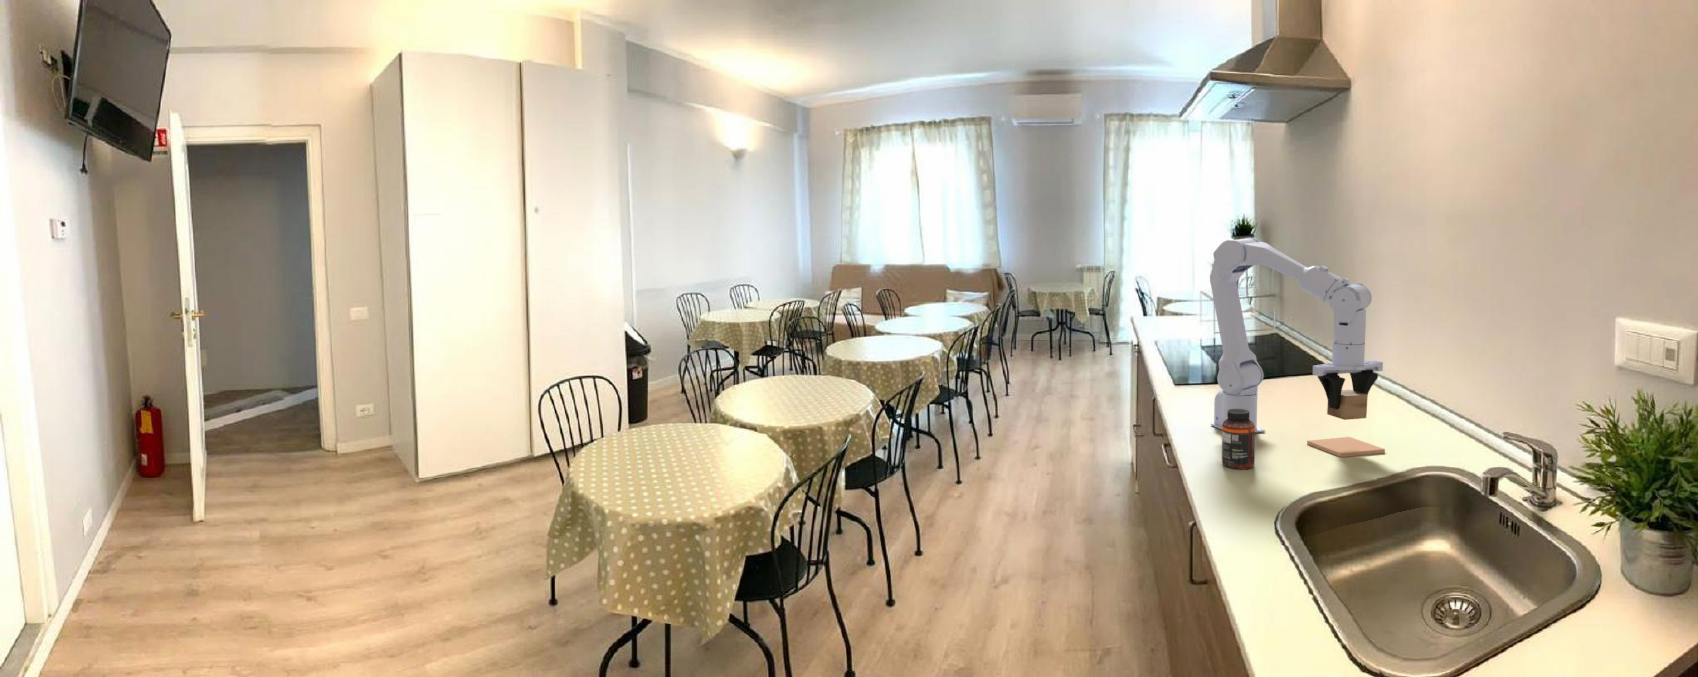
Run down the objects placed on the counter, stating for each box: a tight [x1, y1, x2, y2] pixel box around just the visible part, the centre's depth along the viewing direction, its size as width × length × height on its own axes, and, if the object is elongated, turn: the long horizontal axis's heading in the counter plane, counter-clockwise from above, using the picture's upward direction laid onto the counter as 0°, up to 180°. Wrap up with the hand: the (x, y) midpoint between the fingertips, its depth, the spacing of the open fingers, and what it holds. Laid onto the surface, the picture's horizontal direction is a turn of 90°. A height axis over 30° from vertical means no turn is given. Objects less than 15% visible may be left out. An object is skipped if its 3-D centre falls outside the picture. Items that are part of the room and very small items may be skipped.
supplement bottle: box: [1221, 409, 1256, 470], centre depth 167 cm, size 6×6×11 cm
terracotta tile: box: [1306, 436, 1386, 458], centre depth 175 cm, size 10×10×1 cm
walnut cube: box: [1326, 389, 1369, 421], centre depth 174 cm, size 5×5×5 cm
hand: (1346, 407), depth 174 cm, fingers closed on walnut cube, 5 cm apart
